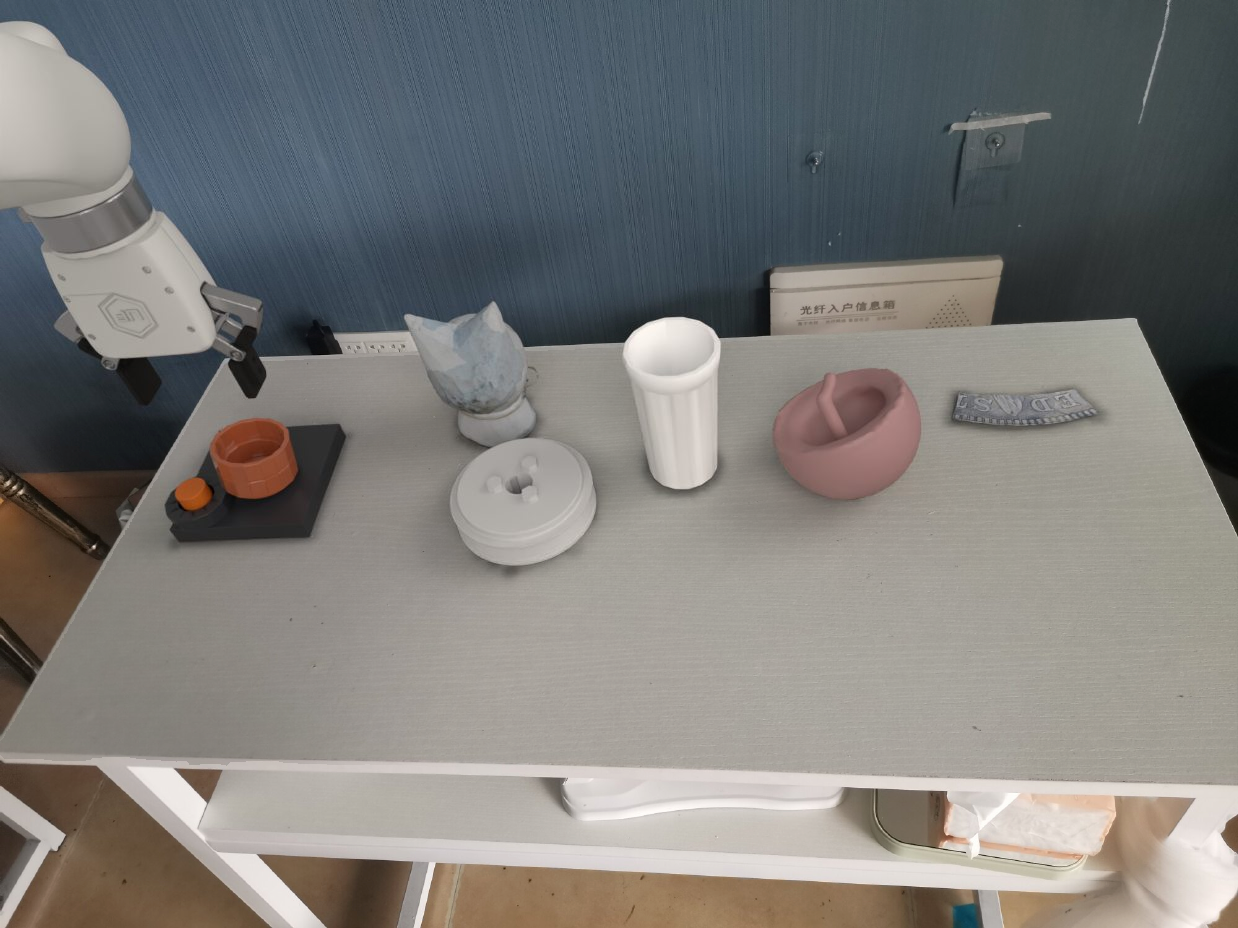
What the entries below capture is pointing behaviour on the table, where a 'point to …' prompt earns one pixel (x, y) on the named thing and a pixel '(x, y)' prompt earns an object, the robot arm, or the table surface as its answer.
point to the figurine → (478, 373)
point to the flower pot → (254, 458)
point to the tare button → (193, 494)
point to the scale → (271, 514)
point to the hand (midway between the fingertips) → (204, 391)
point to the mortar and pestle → (849, 433)
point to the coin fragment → (1022, 408)
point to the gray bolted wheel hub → (523, 501)
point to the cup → (676, 397)
